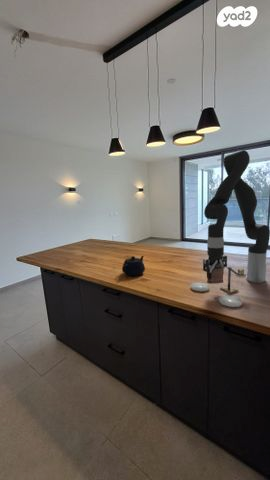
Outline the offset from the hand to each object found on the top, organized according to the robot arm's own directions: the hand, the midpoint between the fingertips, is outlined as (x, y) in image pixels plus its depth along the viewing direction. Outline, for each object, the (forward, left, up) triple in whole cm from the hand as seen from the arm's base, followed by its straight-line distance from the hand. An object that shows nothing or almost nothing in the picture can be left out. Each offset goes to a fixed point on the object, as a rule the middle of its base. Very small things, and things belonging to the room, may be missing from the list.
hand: (215, 277), depth 107 cm
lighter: (0, 0, -3) cm, 3 cm away
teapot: (+19, -53, -10) cm, 57 cm away
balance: (-11, 0, -10) cm, 14 cm away
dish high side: (0, -10, -10) cm, 14 cm away
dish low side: (0, +10, -10) cm, 14 cm away
